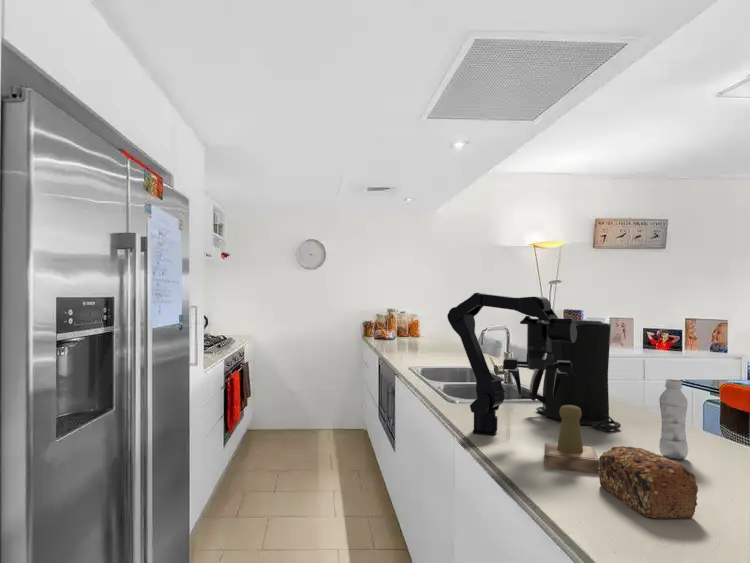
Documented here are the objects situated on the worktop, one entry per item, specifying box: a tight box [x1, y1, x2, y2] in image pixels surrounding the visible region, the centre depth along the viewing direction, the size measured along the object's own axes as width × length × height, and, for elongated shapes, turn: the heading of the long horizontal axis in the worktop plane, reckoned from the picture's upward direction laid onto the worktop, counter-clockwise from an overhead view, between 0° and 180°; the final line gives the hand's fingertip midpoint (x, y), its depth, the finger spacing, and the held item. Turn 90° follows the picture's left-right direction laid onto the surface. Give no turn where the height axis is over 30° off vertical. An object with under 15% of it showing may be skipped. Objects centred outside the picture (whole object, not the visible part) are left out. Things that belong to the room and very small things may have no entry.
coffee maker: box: [528, 319, 621, 433], centre depth 185 cm, size 23×32×34 cm
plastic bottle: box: [658, 378, 689, 460], centre depth 141 cm, size 6×7×20 cm
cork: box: [557, 405, 583, 454], centre depth 135 cm, size 6×6×11 cm
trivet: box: [543, 442, 599, 474], centre depth 135 cm, size 12×12×3 cm
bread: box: [598, 445, 699, 520], centre depth 110 cm, size 19×11×10 cm, turn 4°
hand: (536, 395), depth 154 cm, fingers open, 9 cm apart
